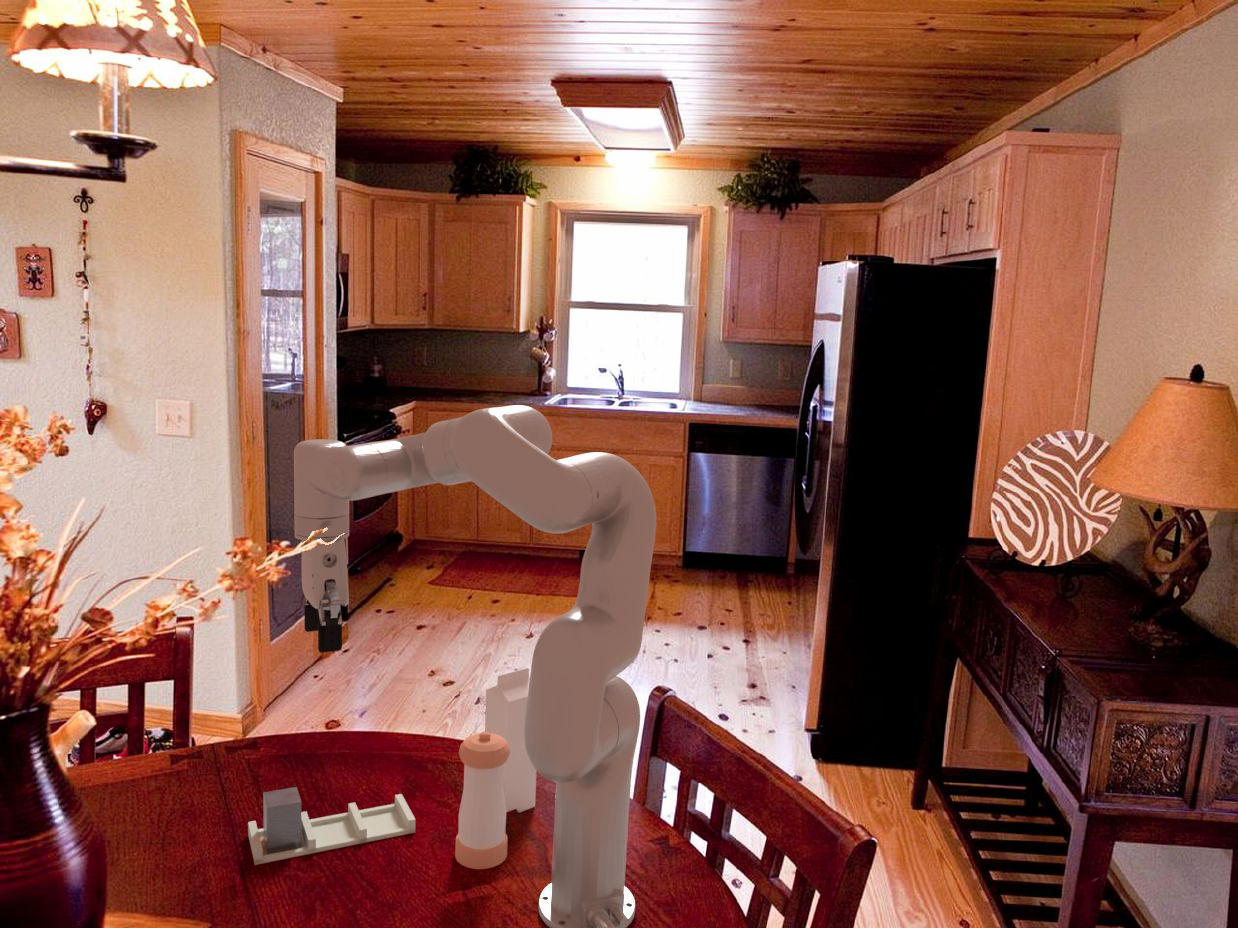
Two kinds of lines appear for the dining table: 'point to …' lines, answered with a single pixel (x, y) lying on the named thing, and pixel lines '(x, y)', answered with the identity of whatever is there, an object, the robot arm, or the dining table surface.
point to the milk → (512, 737)
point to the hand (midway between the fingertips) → (322, 640)
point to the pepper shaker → (482, 802)
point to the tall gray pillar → (282, 820)
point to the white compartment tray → (340, 830)
